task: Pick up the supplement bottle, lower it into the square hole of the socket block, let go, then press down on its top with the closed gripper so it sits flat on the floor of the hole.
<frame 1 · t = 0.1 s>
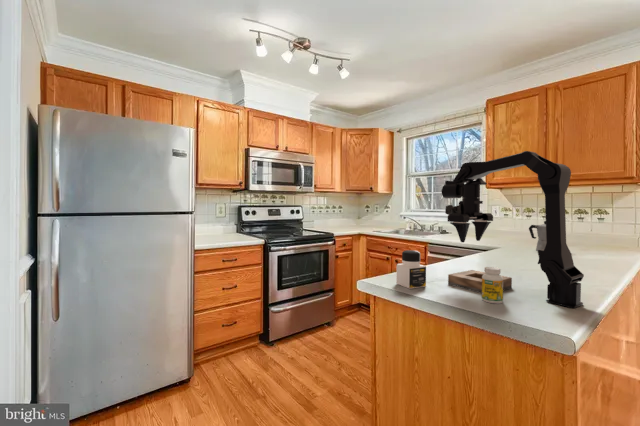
hand: (470, 241, 109), 15 cm above the countertop, tool pointing down, fingers open, 9 cm apart
socket block: (479, 286, 103), on the countertop
medicine bottle: (410, 285, 104), on the countertop
coffeepot: (542, 251, 181), on the countertop
supplement bottle: (492, 301, 88), on the countertop
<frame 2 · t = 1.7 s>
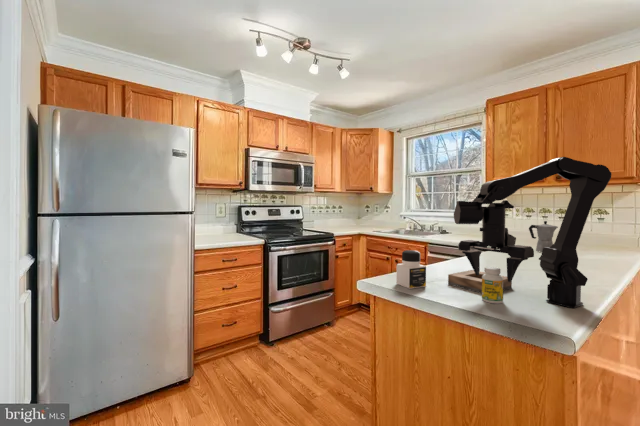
hand: (492, 278, 87), 7 cm above the countertop, tool pointing down, fingers open, 9 cm apart
nothing on the countertop moved.
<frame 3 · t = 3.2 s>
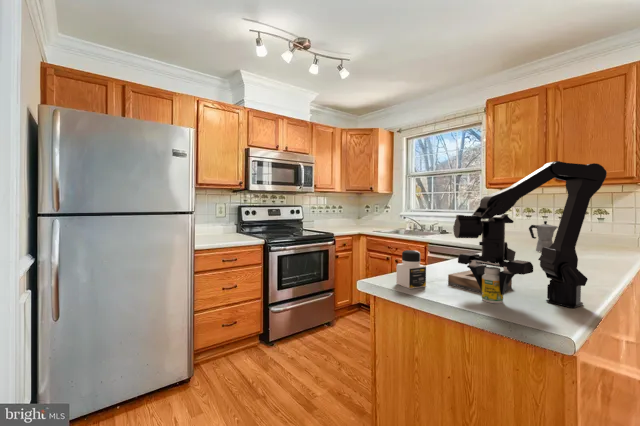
hand: (492, 292, 87), 3 cm above the countertop, tool pointing down, fingers closed on supplement bottle, 5 cm apart
supplement bottle: (492, 301, 88), on the countertop, touching gripper
everything else where it was.
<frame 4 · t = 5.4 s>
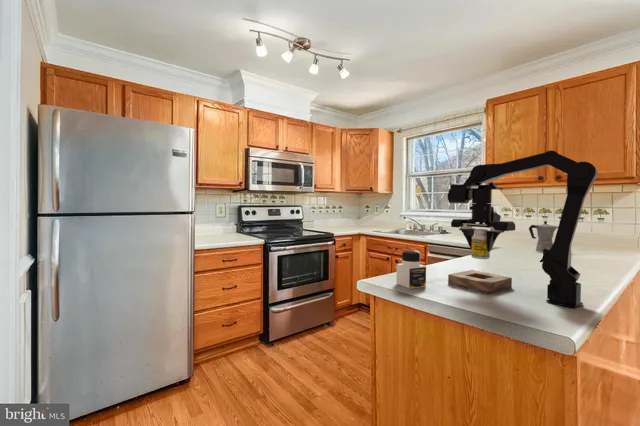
hand: (480, 250, 101), 13 cm above the countertop, tool pointing down, fingers closed on supplement bottle, 5 cm apart
supplement bottle: (480, 258, 101), point 10 cm above the countertop, touching gripper
everything else where it was.
when the fingers open (5 cm above the countertop, at t = 7.8 s): supplement bottle drops 1 cm, resting on socket block.
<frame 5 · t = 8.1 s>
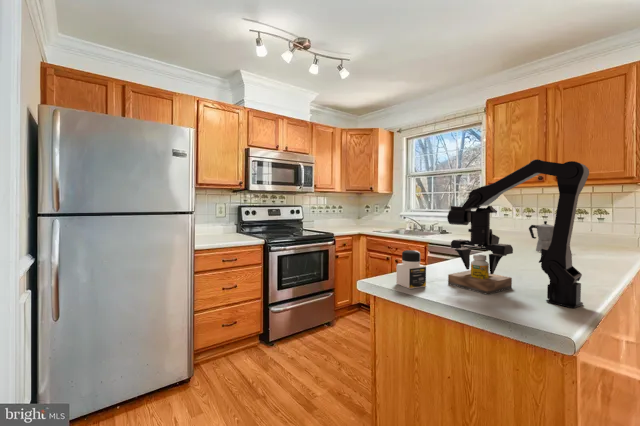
hand: (479, 271, 103), 5 cm above the countertop, tool pointing down, fingers open, 8 cm apart
supplement bottle: (479, 283, 103), point 1 cm above the countertop, touching socket block
everything else where it was.
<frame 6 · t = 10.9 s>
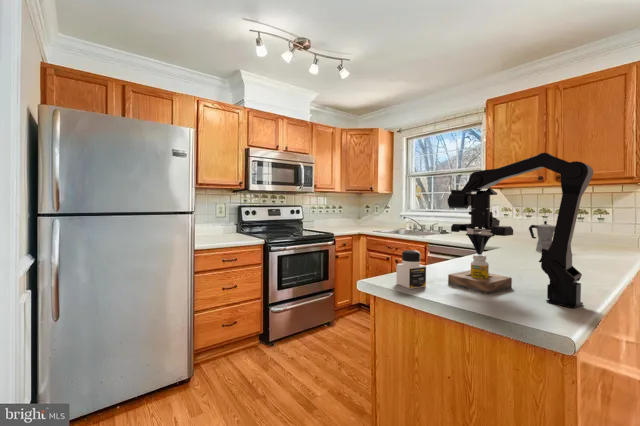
hand: (479, 254, 103), 11 cm above the countertop, tool pointing down, fingers closed
nothing on the countertop moved.
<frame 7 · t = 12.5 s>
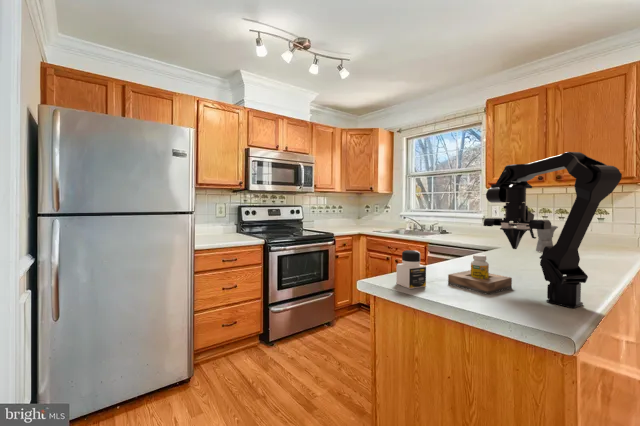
hand: (514, 249, 101), 13 cm above the countertop, tool pointing down, fingers closed
nothing on the countertop moved.
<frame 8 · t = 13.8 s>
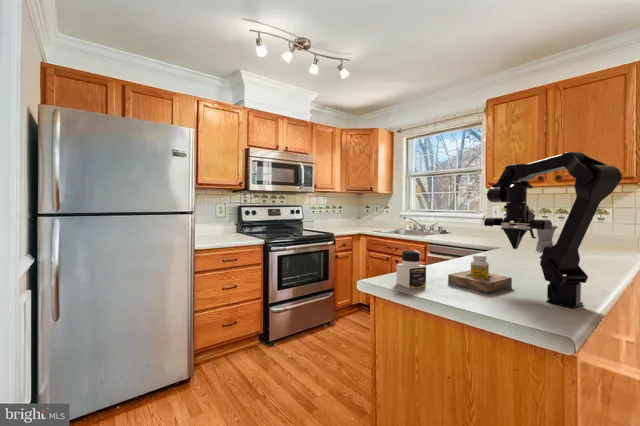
hand: (515, 248, 102), 13 cm above the countertop, tool pointing down, fingers closed
nothing on the countertop moved.
at the end: supplement bottle 0.1 cm off-centre on the socket block, point 0.8 cm above the socket block's base; supplement bottle tilted 0°; the gripper is holding nothing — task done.
